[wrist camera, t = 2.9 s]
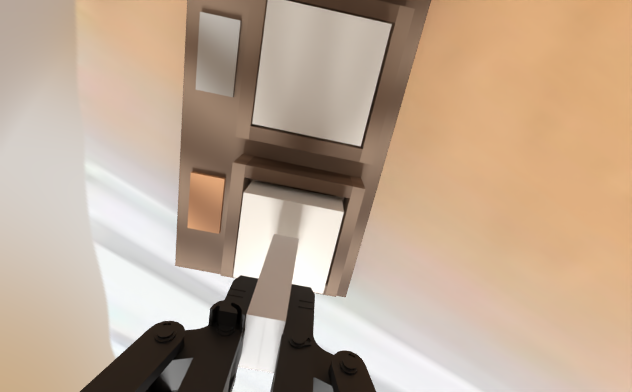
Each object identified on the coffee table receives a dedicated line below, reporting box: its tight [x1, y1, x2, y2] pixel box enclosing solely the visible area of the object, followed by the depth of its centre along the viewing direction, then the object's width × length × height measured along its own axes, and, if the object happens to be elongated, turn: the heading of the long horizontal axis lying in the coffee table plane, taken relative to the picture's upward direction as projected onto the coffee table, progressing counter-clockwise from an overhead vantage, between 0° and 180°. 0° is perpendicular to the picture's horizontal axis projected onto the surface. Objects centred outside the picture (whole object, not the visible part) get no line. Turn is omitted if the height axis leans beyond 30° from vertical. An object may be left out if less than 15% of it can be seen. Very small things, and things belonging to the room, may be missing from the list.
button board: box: [175, 0, 431, 297], centre depth 19 cm, size 32×14×4 cm, turn 169°
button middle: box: [252, 0, 392, 146], centre depth 17 cm, size 6×6×2 cm
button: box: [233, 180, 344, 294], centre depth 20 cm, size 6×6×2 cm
